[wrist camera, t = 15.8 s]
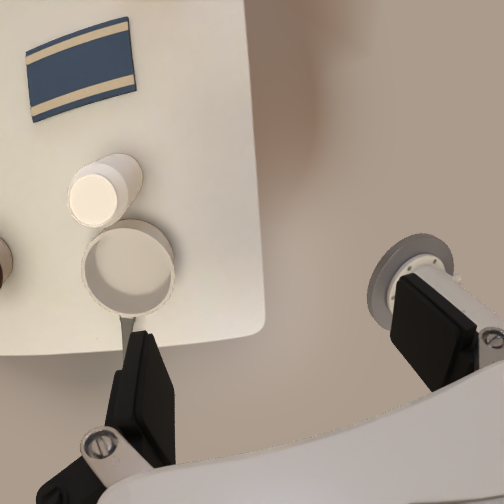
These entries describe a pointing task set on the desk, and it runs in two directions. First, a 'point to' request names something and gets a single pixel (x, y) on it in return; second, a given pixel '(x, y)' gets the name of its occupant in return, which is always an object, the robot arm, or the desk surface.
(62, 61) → the towel
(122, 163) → the beverage can
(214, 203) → the desk surface
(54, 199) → the desk surface
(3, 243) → the coffee cup
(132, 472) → the robot arm
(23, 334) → the desk surface
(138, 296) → the saucepan
